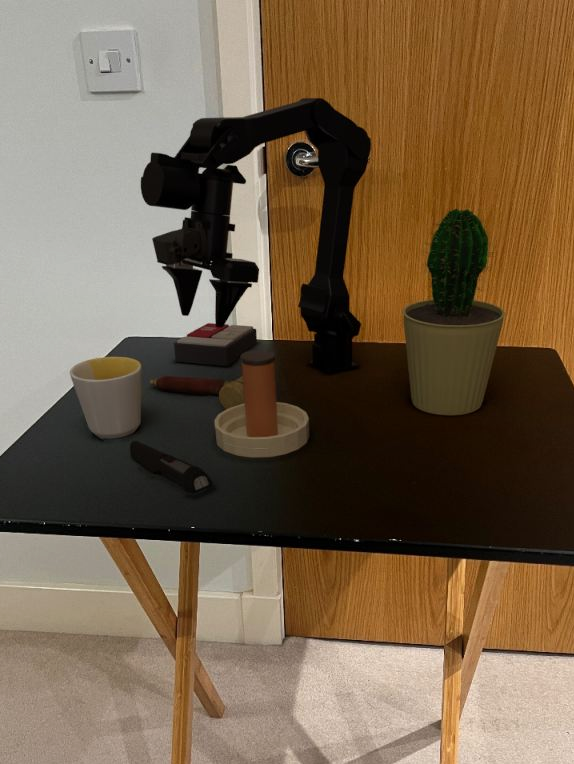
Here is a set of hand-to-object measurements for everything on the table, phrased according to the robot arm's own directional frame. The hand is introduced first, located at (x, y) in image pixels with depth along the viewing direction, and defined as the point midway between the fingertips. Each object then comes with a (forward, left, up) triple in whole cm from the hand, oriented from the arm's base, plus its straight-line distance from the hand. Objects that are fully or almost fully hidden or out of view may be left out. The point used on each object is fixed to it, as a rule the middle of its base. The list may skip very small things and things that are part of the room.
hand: (201, 321), depth 117 cm
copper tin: (-1, +17, -14) cm, 21 cm away
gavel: (-1, -5, -14) cm, 15 cm away
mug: (+15, +1, -14) cm, 21 cm away
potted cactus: (-33, +20, -14) cm, 41 cm away
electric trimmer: (+15, +20, -14) cm, 28 cm away
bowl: (-1, +17, -14) cm, 22 cm away
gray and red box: (-13, -25, -14) cm, 32 cm away
